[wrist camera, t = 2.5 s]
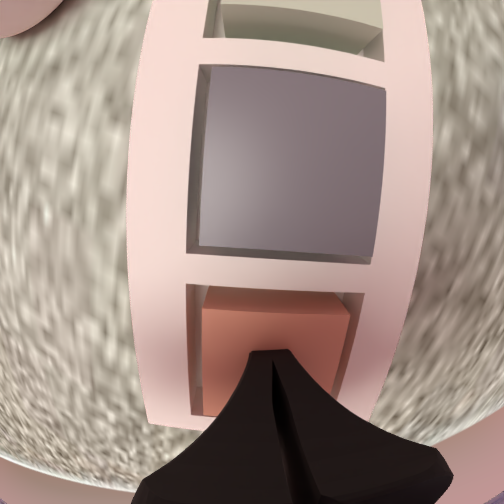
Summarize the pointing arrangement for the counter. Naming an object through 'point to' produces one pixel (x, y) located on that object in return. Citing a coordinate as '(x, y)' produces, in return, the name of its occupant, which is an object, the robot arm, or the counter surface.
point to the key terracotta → (267, 335)
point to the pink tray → (256, 260)
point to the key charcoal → (292, 162)
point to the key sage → (305, 22)
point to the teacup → (23, 14)
